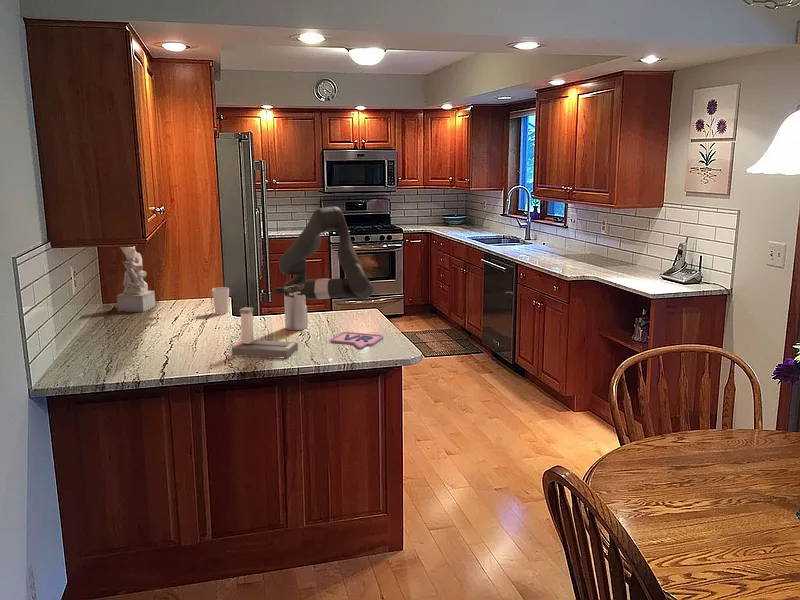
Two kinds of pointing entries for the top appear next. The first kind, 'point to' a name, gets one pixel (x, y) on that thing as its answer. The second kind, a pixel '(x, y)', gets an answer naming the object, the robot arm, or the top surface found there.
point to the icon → (357, 339)
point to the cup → (221, 299)
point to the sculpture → (134, 285)
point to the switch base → (265, 348)
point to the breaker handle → (247, 325)
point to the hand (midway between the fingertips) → (275, 290)
